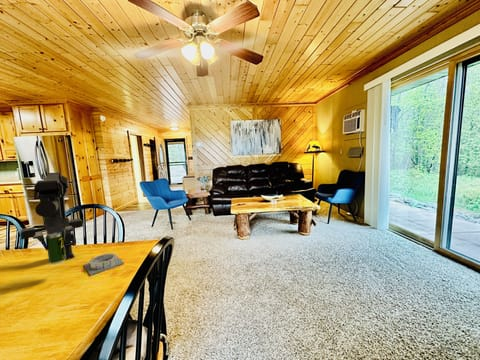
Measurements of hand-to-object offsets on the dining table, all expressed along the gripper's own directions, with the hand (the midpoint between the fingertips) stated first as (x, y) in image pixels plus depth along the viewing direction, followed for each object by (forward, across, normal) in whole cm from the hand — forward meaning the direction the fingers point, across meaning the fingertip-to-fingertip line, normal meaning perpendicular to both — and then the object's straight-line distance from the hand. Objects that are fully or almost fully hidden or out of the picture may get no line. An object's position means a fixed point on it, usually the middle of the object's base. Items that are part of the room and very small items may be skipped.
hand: (56, 247), depth 86 cm
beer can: (+6, 0, 0) cm, 6 cm away
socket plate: (+13, +15, -2) cm, 20 cm away
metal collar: (+13, +15, -2) cm, 20 cm away
